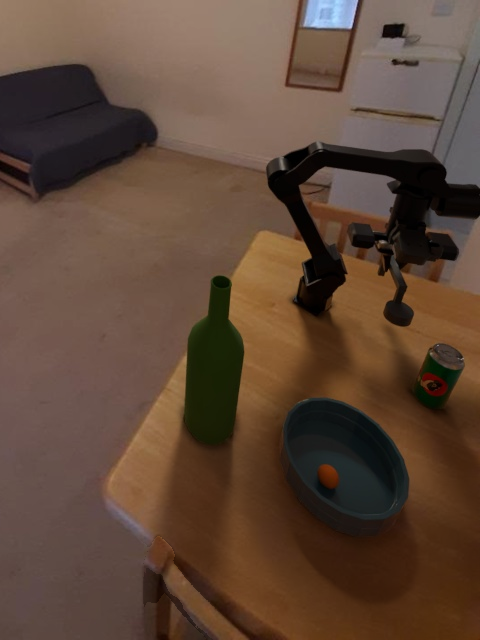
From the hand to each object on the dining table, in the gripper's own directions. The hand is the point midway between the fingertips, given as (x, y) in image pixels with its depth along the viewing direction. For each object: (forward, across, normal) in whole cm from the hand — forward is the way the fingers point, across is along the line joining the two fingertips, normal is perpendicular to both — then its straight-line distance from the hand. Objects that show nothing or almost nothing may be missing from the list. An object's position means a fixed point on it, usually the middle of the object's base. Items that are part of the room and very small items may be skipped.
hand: (389, 271), depth 88 cm
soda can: (+12, +4, -20) cm, 24 cm away
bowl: (+12, -14, -38) cm, 42 cm away
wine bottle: (+12, -34, -35) cm, 51 cm away
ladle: (+4, 0, -3) cm, 6 cm away
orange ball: (+10, -16, -40) cm, 44 cm away
